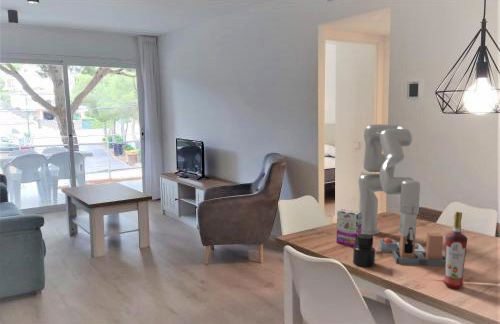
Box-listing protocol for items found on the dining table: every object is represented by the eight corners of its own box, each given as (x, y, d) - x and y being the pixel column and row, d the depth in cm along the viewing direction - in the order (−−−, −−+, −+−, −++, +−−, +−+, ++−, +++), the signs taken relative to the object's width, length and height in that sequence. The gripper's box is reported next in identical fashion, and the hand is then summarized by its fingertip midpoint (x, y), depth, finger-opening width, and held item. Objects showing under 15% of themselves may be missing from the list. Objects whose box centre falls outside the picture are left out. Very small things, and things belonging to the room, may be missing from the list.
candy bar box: (361, 245, 204) (363, 212, 202) (356, 248, 201) (357, 214, 199) (341, 240, 212) (342, 208, 210) (335, 243, 208) (337, 210, 206)
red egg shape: (384, 248, 196) (385, 239, 195) (383, 246, 199) (384, 237, 198) (391, 249, 195) (391, 239, 195) (390, 247, 198) (390, 237, 198)
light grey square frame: (399, 255, 191) (400, 249, 191) (395, 247, 202) (395, 242, 202) (425, 256, 190) (425, 251, 189) (419, 248, 200) (419, 243, 200)
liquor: (442, 288, 155) (447, 213, 152) (441, 281, 162) (446, 209, 159) (465, 291, 153) (470, 215, 149) (462, 284, 160) (468, 211, 156)
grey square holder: (380, 252, 194) (381, 243, 194) (378, 248, 201) (378, 238, 201) (396, 253, 193) (397, 244, 193) (393, 248, 200) (394, 239, 200)
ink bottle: (379, 265, 179) (381, 237, 177) (365, 269, 174) (366, 240, 172) (362, 258, 187) (363, 231, 185) (347, 262, 182) (348, 235, 180)
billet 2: (428, 263, 179) (430, 235, 177) (425, 259, 184) (427, 232, 182) (441, 264, 178) (442, 236, 177) (437, 259, 183) (439, 233, 182)
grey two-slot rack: (396, 265, 178) (397, 258, 178) (392, 257, 188) (392, 250, 188) (449, 268, 175) (449, 260, 175) (441, 260, 185) (442, 253, 185)
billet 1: (401, 258, 180) (403, 231, 179) (399, 254, 185) (400, 227, 184) (414, 259, 180) (415, 231, 178) (411, 255, 185) (412, 228, 183)
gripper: (396, 204, 189) (393, 244, 191) (404, 213, 172) (402, 257, 174) (413, 205, 188) (411, 245, 190) (423, 214, 171) (421, 258, 173)
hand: (406, 250), depth 182 cm, fingers closed on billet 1, 5 cm apart
